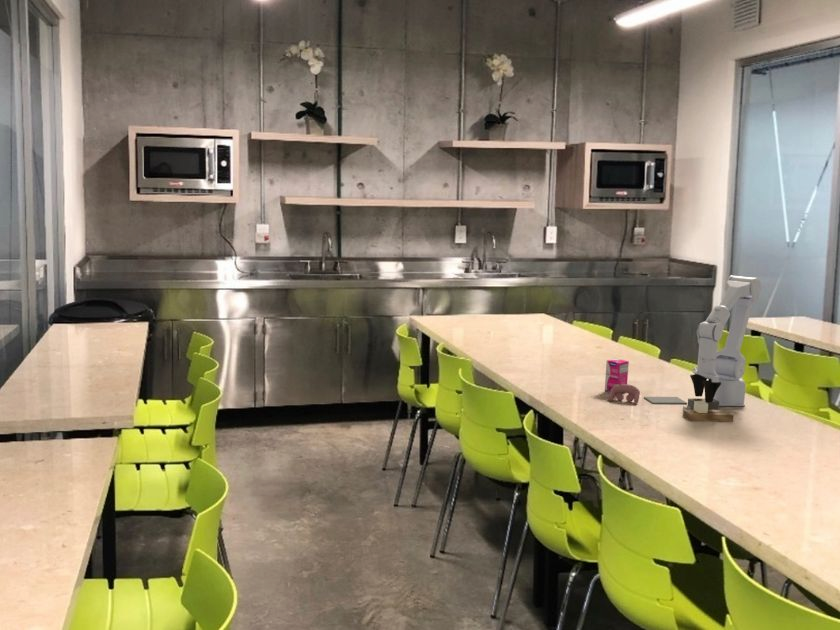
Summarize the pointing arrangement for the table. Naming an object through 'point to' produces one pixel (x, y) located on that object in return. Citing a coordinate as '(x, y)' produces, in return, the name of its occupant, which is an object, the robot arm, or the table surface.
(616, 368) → the supplement box
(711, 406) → the bar
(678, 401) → the mat
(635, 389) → the mauve arch
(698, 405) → the switch tab
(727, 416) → the switch block
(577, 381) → the table surface
